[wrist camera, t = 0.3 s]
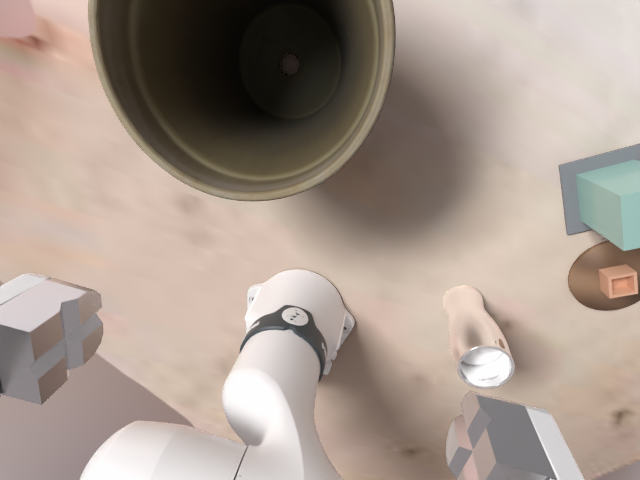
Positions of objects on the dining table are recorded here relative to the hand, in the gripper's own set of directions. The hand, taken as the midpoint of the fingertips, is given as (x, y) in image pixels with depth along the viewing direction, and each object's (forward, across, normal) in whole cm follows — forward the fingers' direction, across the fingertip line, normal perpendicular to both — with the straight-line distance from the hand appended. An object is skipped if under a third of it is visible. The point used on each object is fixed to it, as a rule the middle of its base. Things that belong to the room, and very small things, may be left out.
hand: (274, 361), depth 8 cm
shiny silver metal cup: (+47, +21, -23) cm, 56 cm away
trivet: (+47, +39, -13) cm, 62 cm away
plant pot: (+47, -11, +6) cm, 49 cm away
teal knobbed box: (+46, +32, -1) cm, 57 cm away
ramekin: (+46, +39, -13) cm, 62 cm away
